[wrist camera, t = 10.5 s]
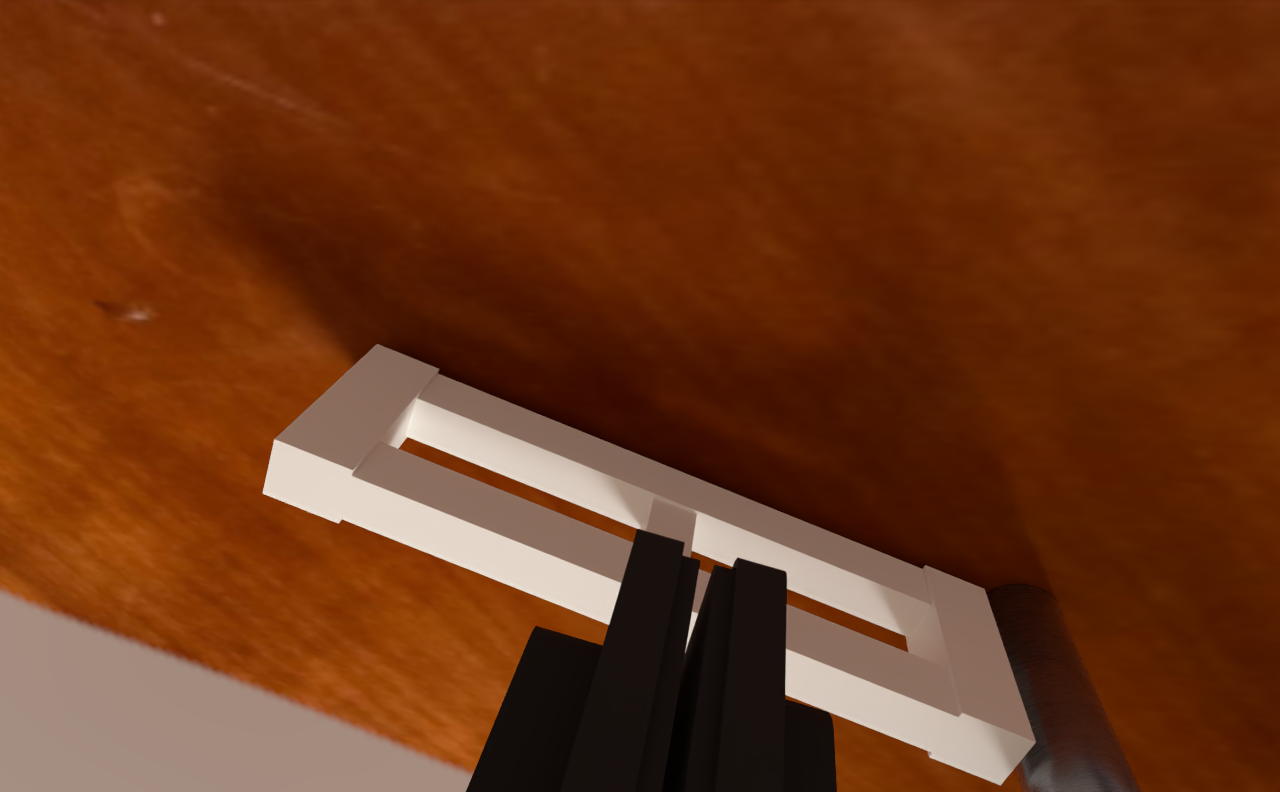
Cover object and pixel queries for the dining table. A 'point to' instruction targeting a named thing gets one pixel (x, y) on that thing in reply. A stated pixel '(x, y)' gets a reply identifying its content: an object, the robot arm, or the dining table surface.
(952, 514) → the dining table surface
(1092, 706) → the gate posts
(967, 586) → the gate
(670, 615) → the robot arm
